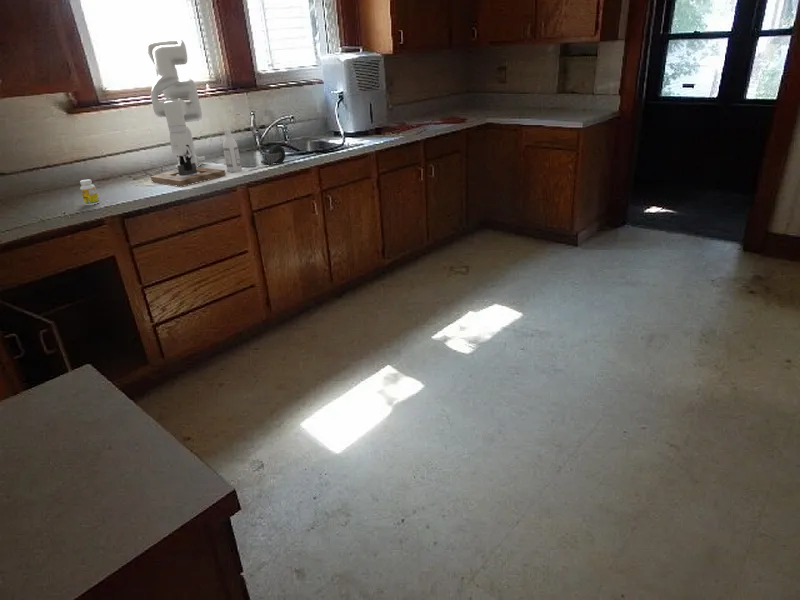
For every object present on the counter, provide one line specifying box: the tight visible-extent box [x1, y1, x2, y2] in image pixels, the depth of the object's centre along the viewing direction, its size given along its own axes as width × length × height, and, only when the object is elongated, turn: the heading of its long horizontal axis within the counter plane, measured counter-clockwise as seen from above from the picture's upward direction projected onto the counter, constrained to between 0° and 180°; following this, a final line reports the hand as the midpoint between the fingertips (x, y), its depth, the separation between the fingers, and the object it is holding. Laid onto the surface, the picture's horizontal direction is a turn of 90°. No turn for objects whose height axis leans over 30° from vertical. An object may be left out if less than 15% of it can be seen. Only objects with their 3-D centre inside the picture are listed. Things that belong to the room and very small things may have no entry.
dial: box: [176, 163, 200, 177], centre depth 249 cm, size 11×11×6 cm
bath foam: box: [222, 128, 243, 173], centre depth 258 cm, size 7×7×20 cm
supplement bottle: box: [79, 179, 101, 206], centre depth 213 cm, size 5×5×10 cm
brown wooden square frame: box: [150, 166, 227, 187], centre depth 250 cm, size 24×24×3 cm
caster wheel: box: [260, 144, 286, 166], centre depth 269 cm, size 6×10×15 cm
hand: (186, 169), depth 249 cm, fingers closed on dial, 3 cm apart
